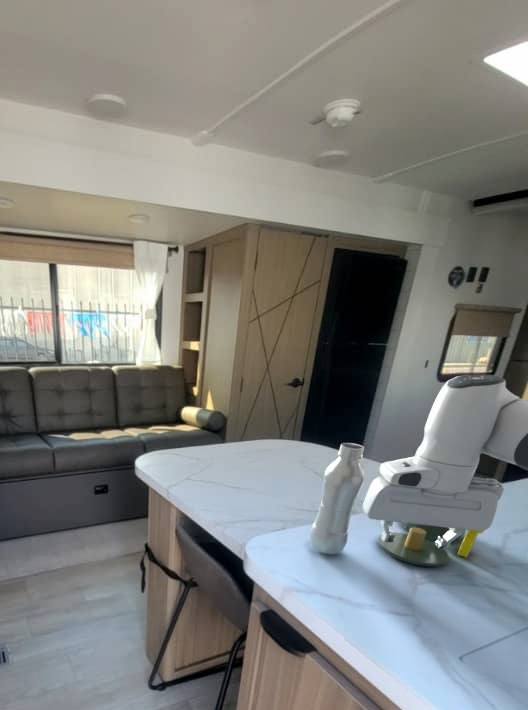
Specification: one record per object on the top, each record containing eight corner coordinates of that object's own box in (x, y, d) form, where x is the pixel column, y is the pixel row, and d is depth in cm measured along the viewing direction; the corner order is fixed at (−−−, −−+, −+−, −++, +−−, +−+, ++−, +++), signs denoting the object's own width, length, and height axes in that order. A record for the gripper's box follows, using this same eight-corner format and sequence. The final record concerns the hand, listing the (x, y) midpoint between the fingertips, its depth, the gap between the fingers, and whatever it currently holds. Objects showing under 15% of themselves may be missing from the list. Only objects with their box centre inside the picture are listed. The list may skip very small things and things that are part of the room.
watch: (457, 545, 79) (469, 518, 77) (474, 551, 78) (487, 523, 75) (451, 556, 76) (463, 528, 73) (468, 562, 74) (482, 534, 71)
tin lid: (429, 541, 81) (438, 520, 78) (458, 573, 70) (469, 550, 68) (368, 534, 82) (375, 513, 80) (388, 564, 72) (396, 541, 70)
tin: (446, 522, 89) (460, 487, 85) (471, 546, 79) (489, 507, 76) (394, 517, 90) (406, 482, 87) (413, 539, 81) (427, 501, 77)
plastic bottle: (308, 555, 74) (335, 449, 65) (304, 538, 80) (328, 439, 71) (346, 561, 72) (379, 454, 64) (339, 543, 78) (368, 442, 70)
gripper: (496, 474, 71) (466, 542, 77) (371, 462, 74) (351, 529, 80) (519, 487, 65) (484, 560, 71) (383, 474, 68) (361, 545, 74)
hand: (413, 543), depth 75 cm, fingers open, 8 cm apart
